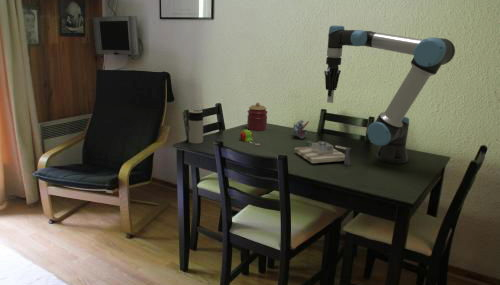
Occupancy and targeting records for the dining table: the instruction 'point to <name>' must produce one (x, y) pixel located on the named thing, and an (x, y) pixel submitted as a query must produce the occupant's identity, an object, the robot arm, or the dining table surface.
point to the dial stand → (346, 155)
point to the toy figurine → (299, 129)
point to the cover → (322, 148)
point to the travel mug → (195, 126)
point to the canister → (257, 118)
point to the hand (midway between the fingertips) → (330, 102)
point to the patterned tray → (316, 158)
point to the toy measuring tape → (247, 136)
